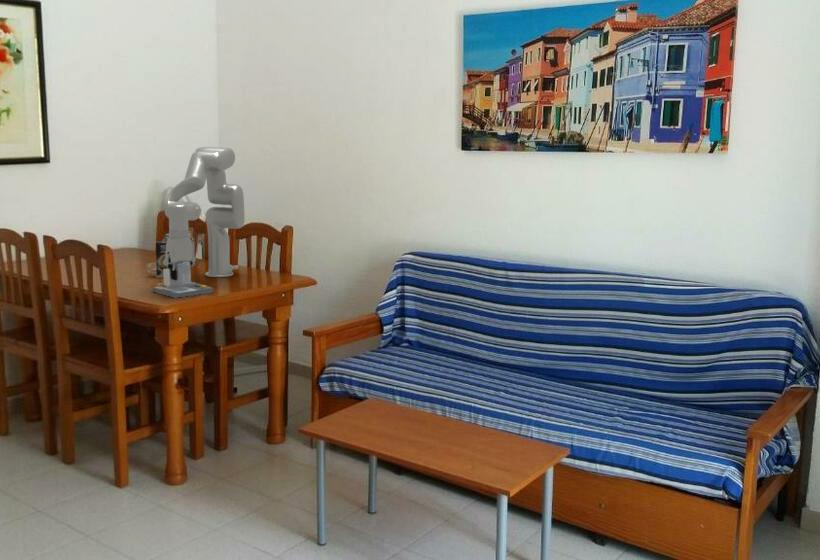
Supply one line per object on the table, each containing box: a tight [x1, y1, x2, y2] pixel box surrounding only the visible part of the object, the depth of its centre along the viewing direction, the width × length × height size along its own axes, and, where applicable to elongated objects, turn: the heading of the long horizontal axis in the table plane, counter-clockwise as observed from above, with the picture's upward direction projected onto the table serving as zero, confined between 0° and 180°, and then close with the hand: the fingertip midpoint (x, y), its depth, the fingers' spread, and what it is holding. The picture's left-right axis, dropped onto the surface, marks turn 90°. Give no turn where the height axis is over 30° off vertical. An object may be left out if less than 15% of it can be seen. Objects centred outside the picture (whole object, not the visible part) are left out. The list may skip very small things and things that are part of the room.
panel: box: [151, 281, 214, 299], centre depth 335 cm, size 18×17×3 cm
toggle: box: [163, 267, 179, 286], centre depth 335 cm, size 4×5×8 cm
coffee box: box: [155, 240, 169, 279], centre depth 366 cm, size 9×6×16 cm
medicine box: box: [169, 262, 192, 284], centre depth 329 cm, size 8×4×9 cm, turn 59°
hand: (180, 278), depth 330 cm, fingers closed on medicine box, 5 cm apart
